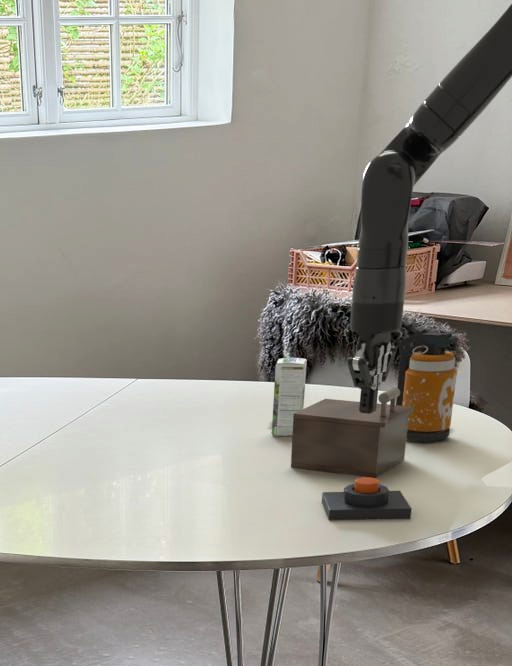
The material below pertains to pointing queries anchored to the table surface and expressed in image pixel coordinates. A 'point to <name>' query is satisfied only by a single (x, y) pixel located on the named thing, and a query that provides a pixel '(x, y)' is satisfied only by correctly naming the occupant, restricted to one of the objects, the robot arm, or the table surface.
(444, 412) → the canister
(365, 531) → the table surface
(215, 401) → the table surface
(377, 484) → the button
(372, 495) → the control block
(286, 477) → the table surface
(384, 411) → the brown box lid
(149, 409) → the table surface
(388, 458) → the brown wooden box
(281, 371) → the syrup box
